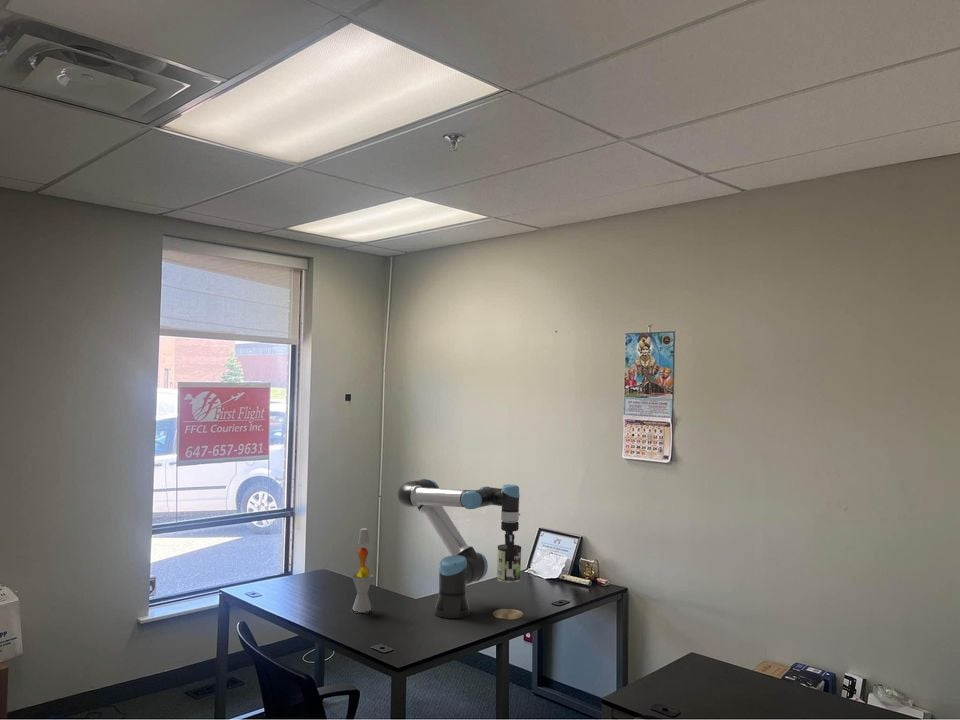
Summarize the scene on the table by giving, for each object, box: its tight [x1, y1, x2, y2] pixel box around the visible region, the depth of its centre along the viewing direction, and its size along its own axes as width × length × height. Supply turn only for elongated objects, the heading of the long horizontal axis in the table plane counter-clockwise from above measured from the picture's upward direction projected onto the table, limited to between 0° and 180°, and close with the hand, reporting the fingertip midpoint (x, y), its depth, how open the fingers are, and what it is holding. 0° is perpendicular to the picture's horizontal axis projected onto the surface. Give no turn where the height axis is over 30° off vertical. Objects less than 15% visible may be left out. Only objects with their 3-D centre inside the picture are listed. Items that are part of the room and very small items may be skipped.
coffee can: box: [496, 543, 522, 584], centre depth 301 cm, size 10×10×14 cm
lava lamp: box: [351, 527, 374, 612], centre depth 302 cm, size 9×9×35 cm
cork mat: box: [492, 608, 524, 621], centre depth 299 cm, size 13×13×1 cm
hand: (508, 573), depth 301 cm, fingers closed on coffee can, 10 cm apart
